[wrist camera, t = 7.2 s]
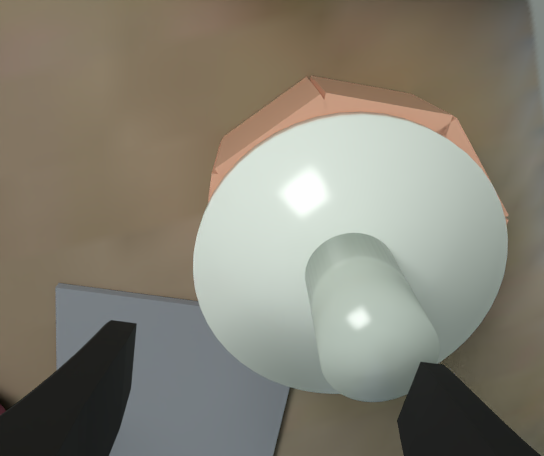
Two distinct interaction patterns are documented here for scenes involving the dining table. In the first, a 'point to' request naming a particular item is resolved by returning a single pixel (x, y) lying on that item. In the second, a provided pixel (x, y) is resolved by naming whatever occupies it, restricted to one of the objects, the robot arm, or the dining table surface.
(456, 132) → the bowl
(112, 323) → the robot arm
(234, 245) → the lid
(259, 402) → the mat
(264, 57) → the dining table surface
